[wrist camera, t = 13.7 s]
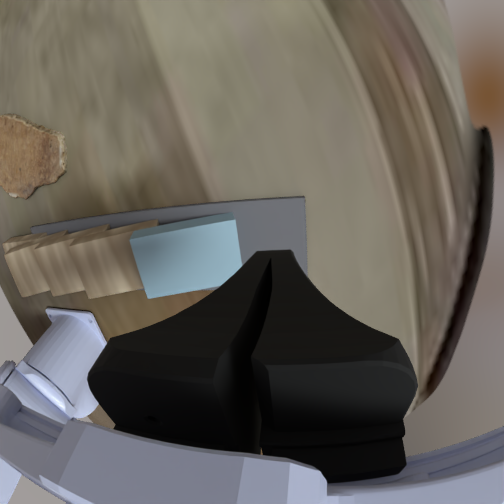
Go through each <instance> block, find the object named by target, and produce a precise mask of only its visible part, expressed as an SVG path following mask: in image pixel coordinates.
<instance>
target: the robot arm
mask: <svg viewBox="0 0 504 504" xmlns="http://www.w3.org/2000/svg"><path fill="white" fill-rule="evenodd" d="M46 313H47V315H48V317H49V319H50V320H51V322H52V324H51V326H50V327H49V328H48V329H47V330H46V331H45V333H44V334H43V335H42V336H41V337H40V339H39V340H38V341H37V342H36V343H35V345H34V346H33V347H32V348H31V350H30V351H29V352H28V353H27V355H26V356H25V357H24V358H23V360H21V362H20V363H19V364H18V365H17V366H16V367H15V365H16V364H15V362H13V361H11V362H10V361H5V363H4V364H3V365H2V366H1V367H0V504H8V502H9V500H10V498H11V496H12V494H13V492H14V490H15V487H16V485H17V483H18V481H19V479H20V477H21V475H24V476H25V477H27V478H28V479H29V480H31V481H32V482H34V483H35V484H37V485H39V486H40V487H42V488H43V489H44V490H46V491H48V492H50V493H51V494H53V495H54V496H56V497H58V498H60V499H61V500H63V501H65V502H66V504H504V426H503V427H500V428H498V429H495V430H493V431H491V432H488V433H486V434H483V435H480V436H478V437H475V438H472V439H469V440H466V441H464V442H461V443H458V444H454V445H451V446H448V447H444V448H441V449H437V450H434V451H430V452H426V453H422V454H418V455H413V456H409V457H405V451H404V446H403V440H402V437H404V435H405V427H404V422H403V418H404V416H405V414H406V412H407V411H408V409H409V407H410V405H411V403H412V401H413V399H414V397H415V394H416V391H417V387H418V384H417V378H416V374H415V371H414V369H413V366H412V363H411V361H410V359H409V357H408V355H407V353H406V351H405V349H404V348H403V346H402V344H401V342H400V340H399V339H397V338H395V337H393V336H390V335H388V334H385V333H383V332H380V331H378V330H376V329H373V328H371V327H369V326H367V325H365V324H363V323H362V322H360V321H358V320H356V319H354V318H353V317H351V316H350V315H348V314H346V313H345V312H344V311H342V310H341V309H339V308H338V307H337V306H335V305H334V304H333V303H331V302H330V301H329V300H328V299H327V298H326V297H325V296H324V295H323V294H322V293H321V292H320V291H319V290H318V289H317V288H316V287H315V286H314V284H313V283H312V282H311V281H310V280H309V278H308V277H307V276H306V274H305V273H304V271H303V270H302V268H301V267H300V265H299V264H298V262H297V260H296V258H295V256H294V252H293V251H292V250H291V249H288V250H266V251H256V252H255V253H254V254H253V255H252V256H251V257H250V258H249V259H248V260H247V261H246V263H245V264H244V265H243V266H242V267H241V268H240V269H239V270H238V271H237V272H236V273H235V274H234V275H232V276H231V277H230V278H229V279H228V280H227V281H226V282H224V283H223V284H222V285H221V286H220V287H219V288H217V289H216V290H215V291H213V292H212V293H211V294H209V295H208V296H206V297H205V298H203V299H202V300H200V301H199V302H197V303H196V304H194V305H192V306H190V307H189V308H187V309H185V310H183V311H181V312H179V313H178V314H176V315H174V316H172V317H169V318H167V319H165V320H163V321H161V322H158V323H156V324H153V325H151V326H148V327H145V328H142V329H139V330H136V331H133V332H130V333H126V334H123V335H120V336H116V337H112V338H110V340H109V341H108V343H107V342H106V340H105V338H104V336H103V334H102V332H101V330H100V328H99V326H98V324H97V322H96V320H95V318H94V316H93V314H92V313H91V312H87V311H76V310H66V309H57V308H47V309H46ZM98 404H100V406H101V407H102V408H103V410H104V411H105V412H106V413H107V415H108V416H109V417H110V418H111V419H112V421H113V422H114V423H115V424H116V425H115V427H114V429H110V428H107V427H104V426H101V425H98V424H95V423H90V422H84V421H79V420H77V419H76V418H83V417H85V416H87V415H89V414H90V413H92V412H93V411H94V410H95V408H96V407H97V406H98ZM261 448H262V453H263V455H260V454H261Z"/></svg>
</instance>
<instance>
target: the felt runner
mask: <svg viewBox="0 0 504 504" xmlns="http://www.w3.org/2000/svg"><path fill="white" fill-rule="evenodd" d="M230 212H233V215H234V217H235V220H236V227H237V234H238V241H239V248H240V255H241V262H242V266H243V265H244V264H245V263H246V261H247V260H248V259H249V258H250V257H251V256H252V255H253V254H254V253H255V252H256V251H266V250H288V249H291V250H292V251H293V252H294V256H295V258H296V260H297V262H298V264H299V265H300V267H301V268H302V270H303V271H304V273H305V274H306V276H307V238H306V213H305V196H297V197H279V198H263V199H248V200H235V201H223V202H211V203H200V204H190V205H180V206H171V207H162V208H153V209H145V210H136V211H129V212H121V213H114V214H106V215H99V216H92V217H86V218H79V219H73V220H67V221H61V222H55V223H49V224H43V225H38V226H33V227H31V228H30V229H31V232H32V234H37V233H44V232H47V235H51V234H55V233H58V232H61V231H64V230H68V233H69V234H71V233H75V232H79V231H82V230H86V229H90V228H94V227H98V226H102V225H106V224H109V225H110V228H111V229H115V228H119V227H123V226H128V225H132V224H136V223H141V222H145V221H150V220H154V219H158V222H159V226H160V225H165V224H170V223H175V222H181V221H186V220H191V219H196V218H202V217H207V216H213V215H218V214H224V213H230ZM219 287H220V286H217V287H211V288H206V289H201V290H216V289H217V288H219ZM137 290H145V288H142V289H137Z"/></svg>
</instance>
